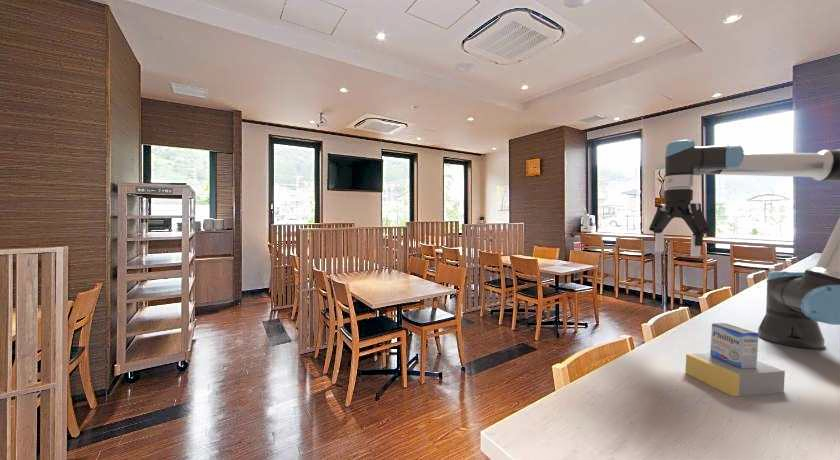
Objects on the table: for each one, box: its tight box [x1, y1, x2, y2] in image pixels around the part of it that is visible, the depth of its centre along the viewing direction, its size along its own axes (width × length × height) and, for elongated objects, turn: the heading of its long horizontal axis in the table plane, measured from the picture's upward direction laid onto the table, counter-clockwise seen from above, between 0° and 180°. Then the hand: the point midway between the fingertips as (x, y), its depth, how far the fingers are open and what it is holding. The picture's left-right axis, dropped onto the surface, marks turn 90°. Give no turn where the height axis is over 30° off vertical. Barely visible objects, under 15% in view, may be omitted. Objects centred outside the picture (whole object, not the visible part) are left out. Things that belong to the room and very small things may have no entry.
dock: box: [685, 352, 786, 397], centre depth 87 cm, size 14×12×5 cm
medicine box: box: [709, 322, 759, 369], centre depth 86 cm, size 8×4×9 cm, turn 8°
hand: (676, 253), depth 115 cm, fingers open, 13 cm apart
